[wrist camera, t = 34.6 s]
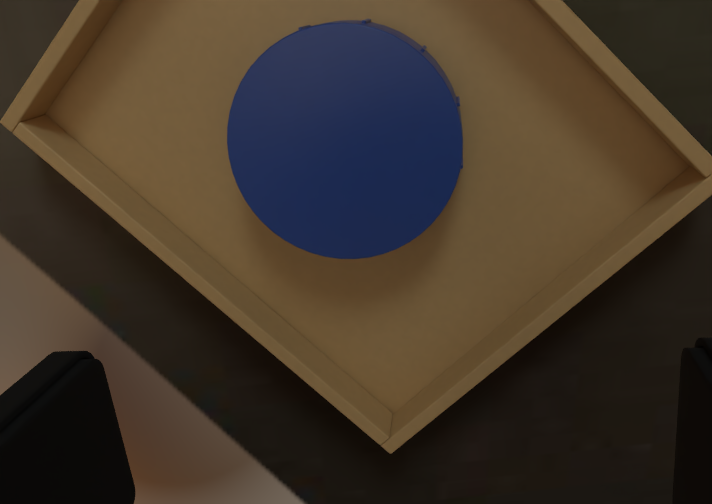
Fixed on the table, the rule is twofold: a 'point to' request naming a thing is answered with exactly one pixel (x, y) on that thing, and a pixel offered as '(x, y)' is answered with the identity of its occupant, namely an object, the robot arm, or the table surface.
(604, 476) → the table surface
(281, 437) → the table surface
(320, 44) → the lid
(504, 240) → the tray
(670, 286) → the table surface
